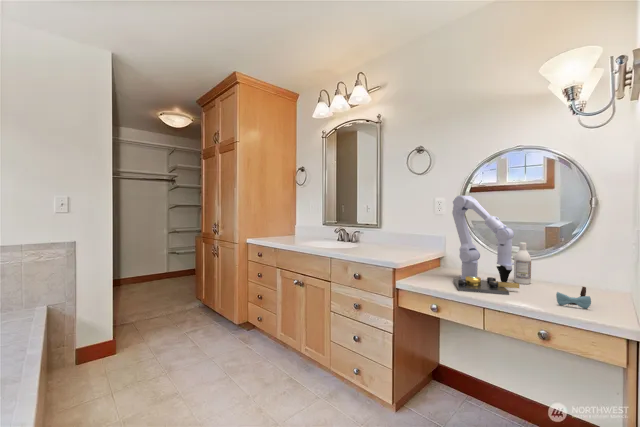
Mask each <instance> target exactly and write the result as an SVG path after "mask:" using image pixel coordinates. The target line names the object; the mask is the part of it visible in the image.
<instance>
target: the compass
mask: <svg viewBox="0 0 640 427" xmlns="http://www.w3.org/2000/svg"><path fill="white" fill-rule="evenodd" d="M579 295H580V296H579V297H582V296H587V287H586V286H581V290H580V293H579ZM569 297H570V296H569ZM570 298H571V297H570ZM569 305H577V304H576V303H570V304H569Z"/></svg>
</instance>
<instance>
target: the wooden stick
mask: <svg viewBox="0 0 640 427" xmlns="http://www.w3.org/2000/svg"><path fill="white" fill-rule="evenodd" d="M497 281H498V280H496V281H489V286H491V287H505V288H506V289H507V288H509V289H520V283H516V282H510V281H509V282H508V281H507V282H501V281H498V282H497Z"/></svg>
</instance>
